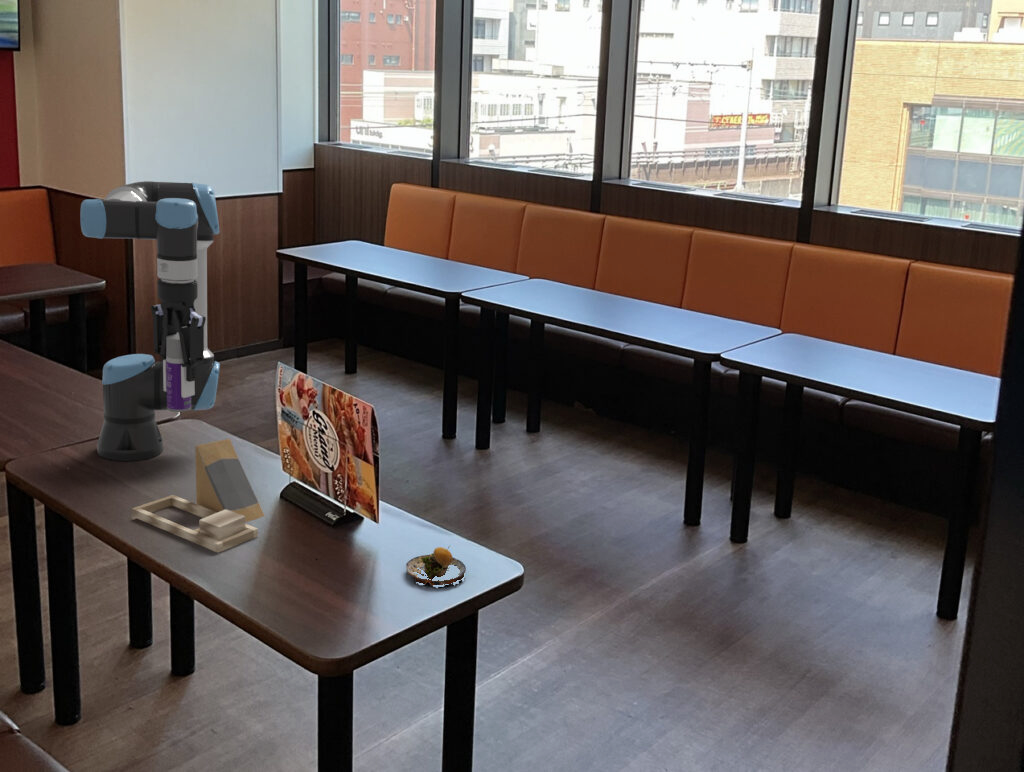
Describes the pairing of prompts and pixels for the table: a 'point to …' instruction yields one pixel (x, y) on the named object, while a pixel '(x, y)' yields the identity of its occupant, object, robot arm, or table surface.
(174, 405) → the container
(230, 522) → the offcut top
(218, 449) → the sandwich container
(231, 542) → the frame
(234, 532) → the block
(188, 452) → the table surface
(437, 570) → the plate of food
